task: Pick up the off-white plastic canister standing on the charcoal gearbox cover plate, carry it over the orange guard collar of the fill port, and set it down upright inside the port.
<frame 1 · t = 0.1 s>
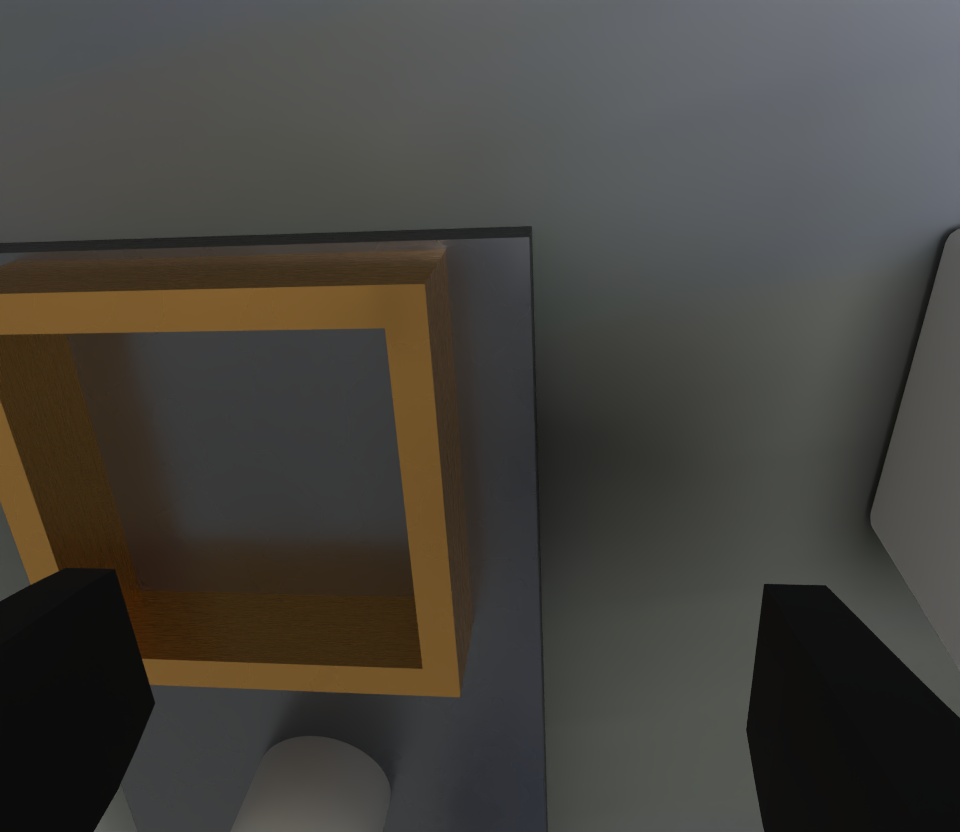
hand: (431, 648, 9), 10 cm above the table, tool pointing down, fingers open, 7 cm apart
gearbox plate: (304, 600, 22), on the table
canister: (324, 785, 23), point 1 cm above the table, touching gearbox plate
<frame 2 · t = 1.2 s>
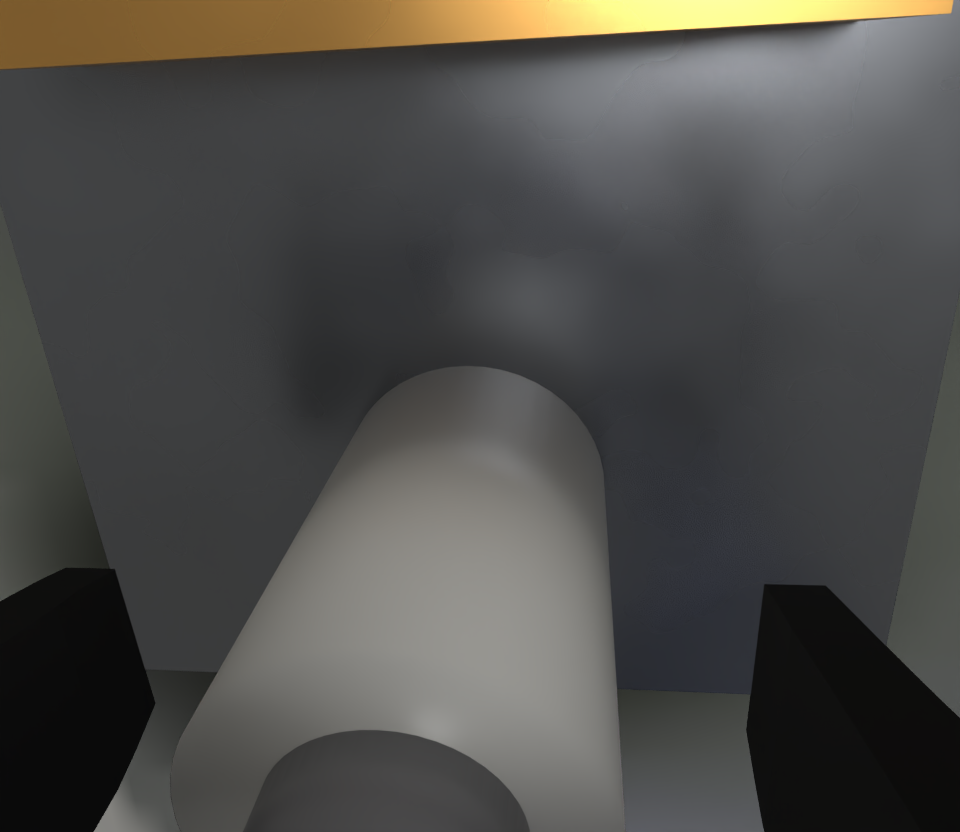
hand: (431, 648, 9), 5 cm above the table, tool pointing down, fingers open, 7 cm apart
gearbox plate: (458, 61, 11), on the table
canister: (474, 486, 12), point 1 cm above the table, touching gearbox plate
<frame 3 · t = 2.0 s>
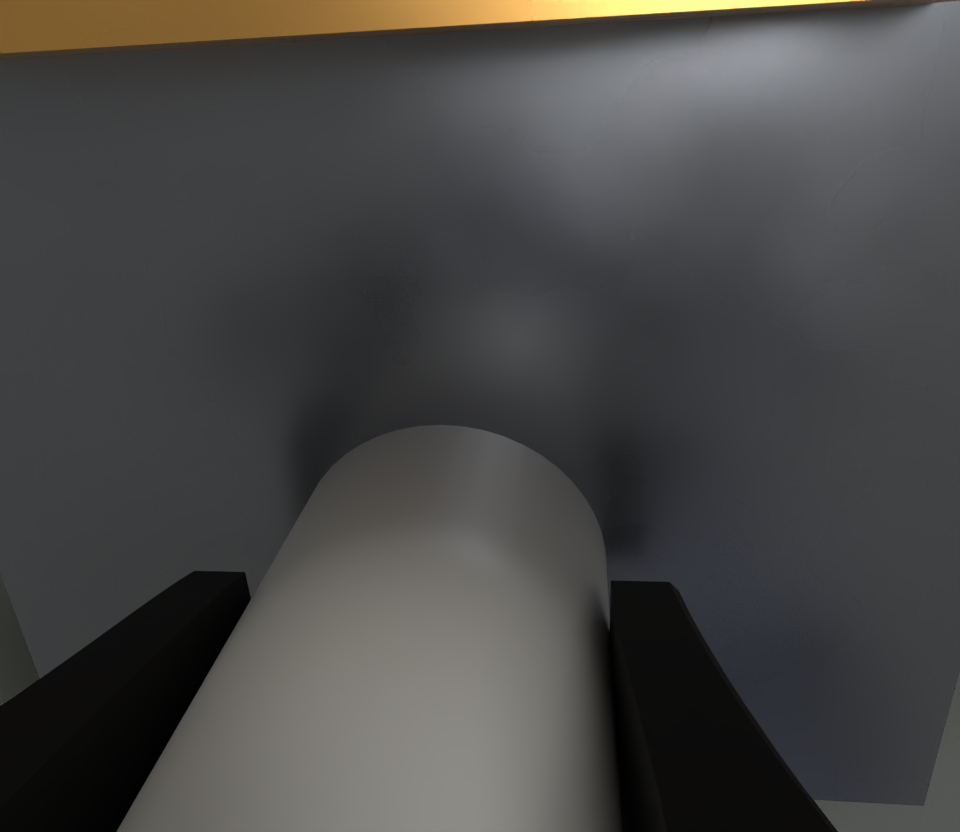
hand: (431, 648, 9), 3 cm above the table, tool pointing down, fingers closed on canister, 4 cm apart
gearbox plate: (426, 55, 9), on the table
canister: (451, 562, 10), point 1 cm above the table, touching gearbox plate, gripper
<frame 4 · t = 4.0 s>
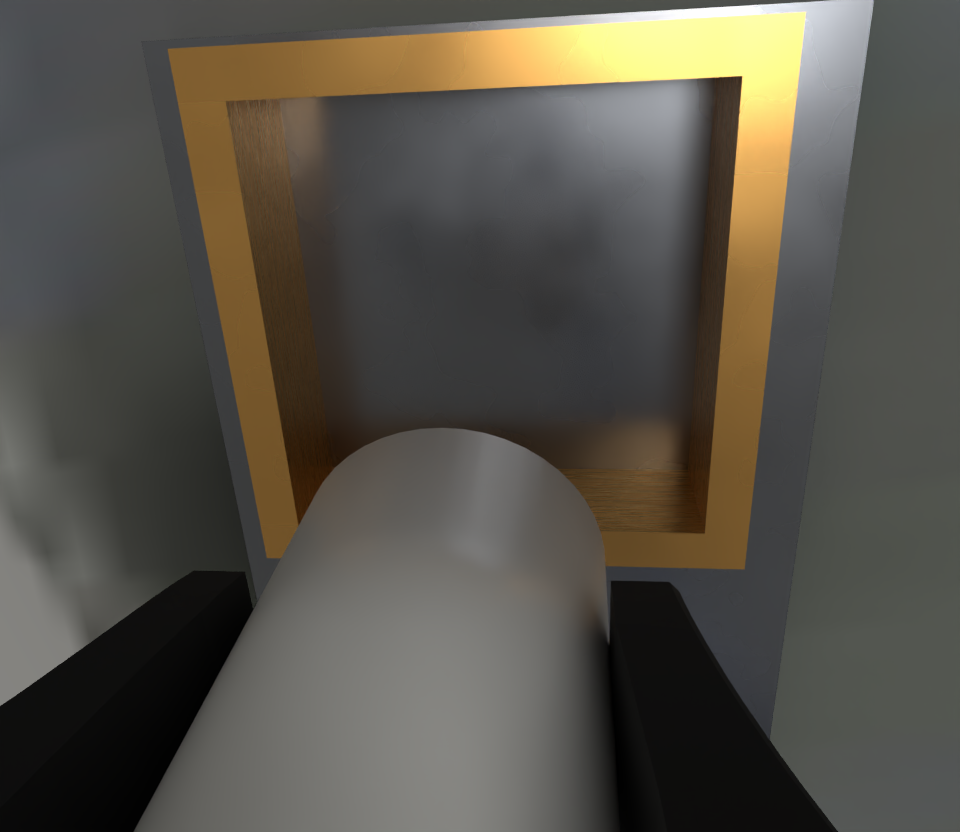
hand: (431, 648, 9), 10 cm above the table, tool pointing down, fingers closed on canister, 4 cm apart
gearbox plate: (510, 484, 19), on the table
canister: (452, 561, 10), point 8 cm above the table, touching gripper
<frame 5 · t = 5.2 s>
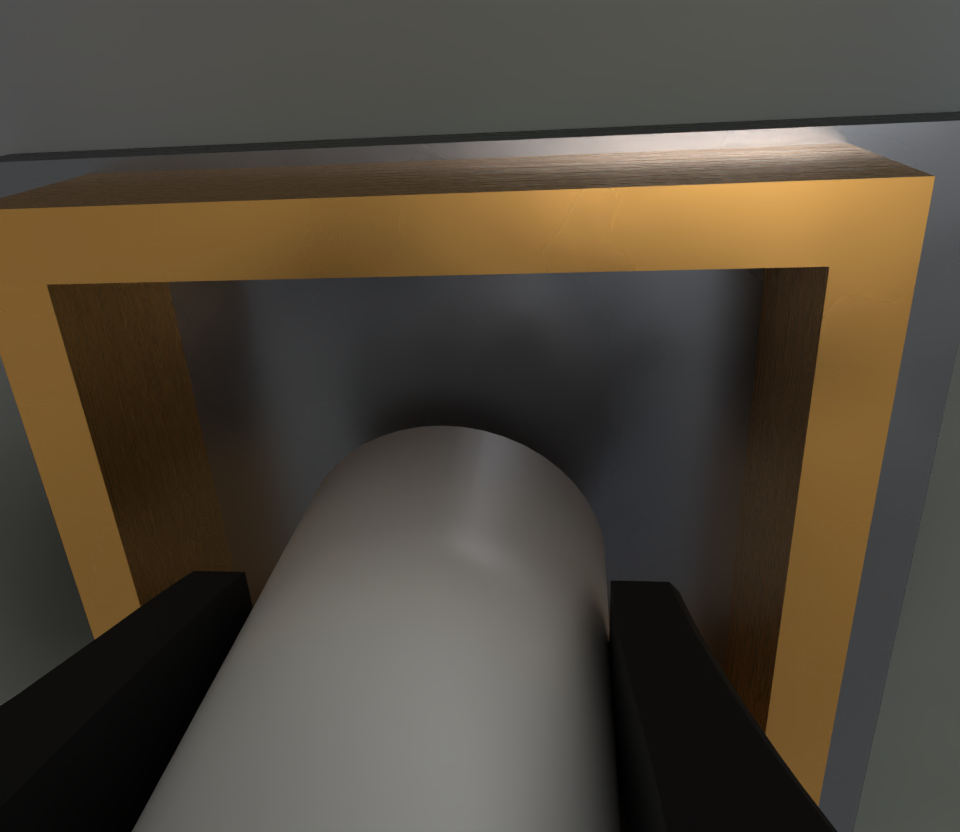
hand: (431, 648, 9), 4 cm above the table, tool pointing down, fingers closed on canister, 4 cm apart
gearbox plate: (489, 693, 15), on the table
canister: (452, 559, 10), point 3 cm above the table, touching gripper
when the fingers open (4 cm above the table, at t = 5.9 s): canister drops 2 cm, resting on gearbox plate.
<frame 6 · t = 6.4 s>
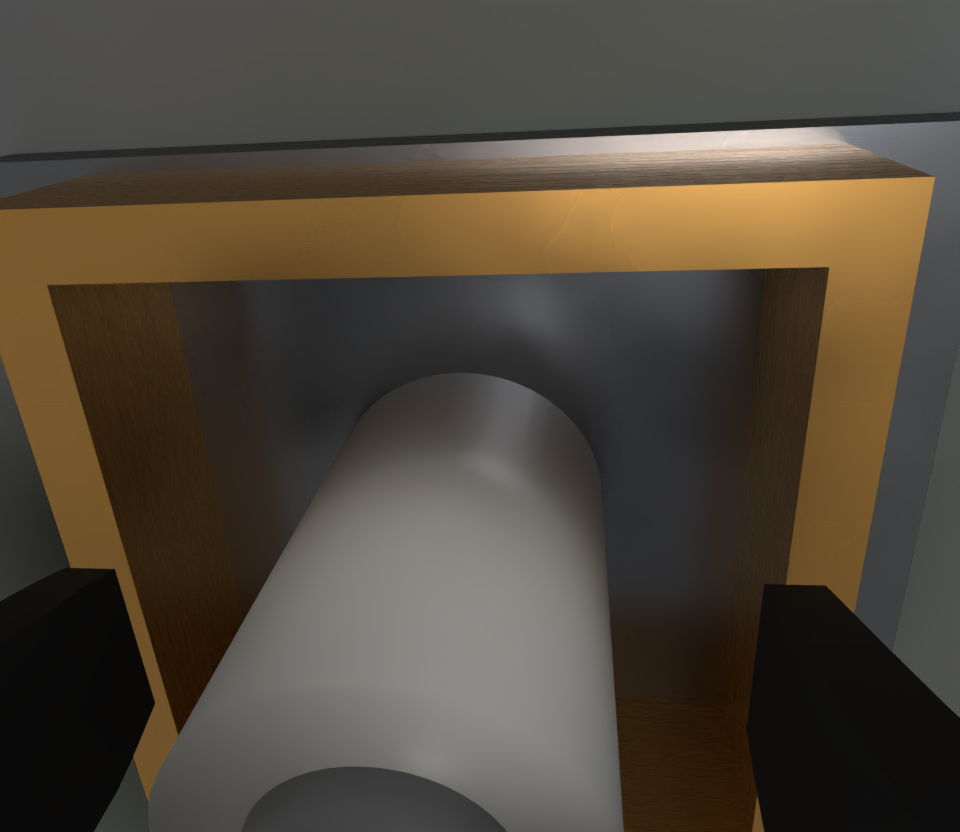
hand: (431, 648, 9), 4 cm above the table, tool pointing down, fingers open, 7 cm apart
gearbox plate: (490, 693, 15), on the table
canister: (468, 495, 12), point 1 cm above the table, touching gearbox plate
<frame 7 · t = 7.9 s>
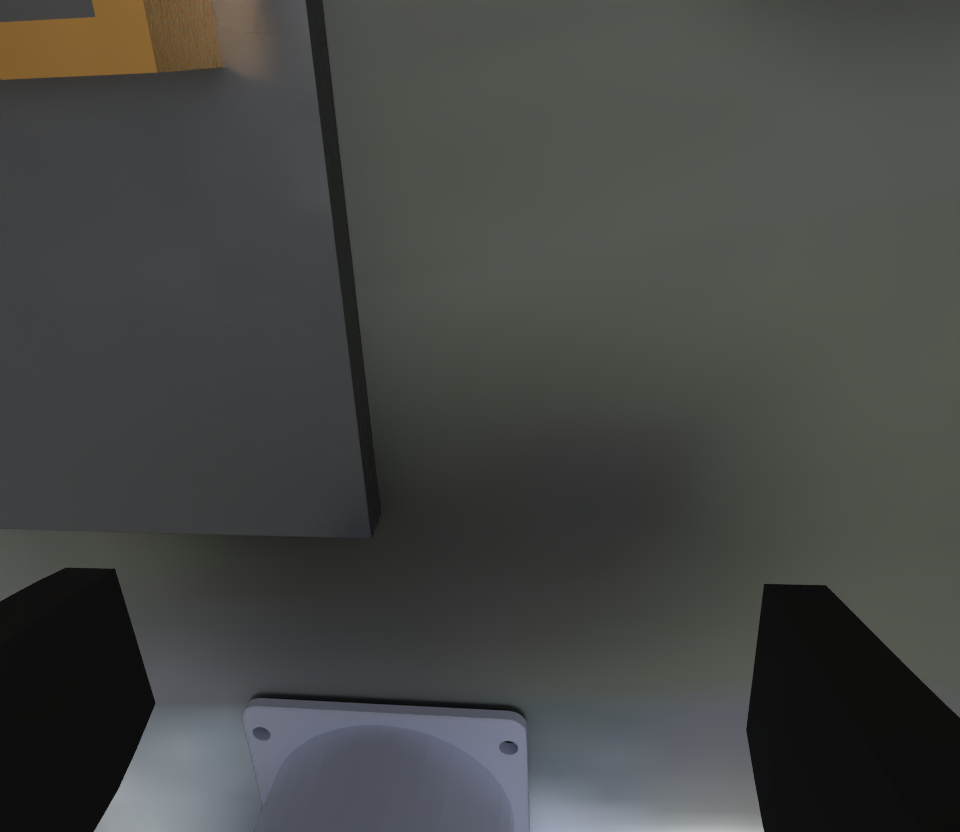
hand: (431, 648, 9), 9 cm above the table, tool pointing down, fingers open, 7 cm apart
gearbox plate: (16, 86, 16), on the table
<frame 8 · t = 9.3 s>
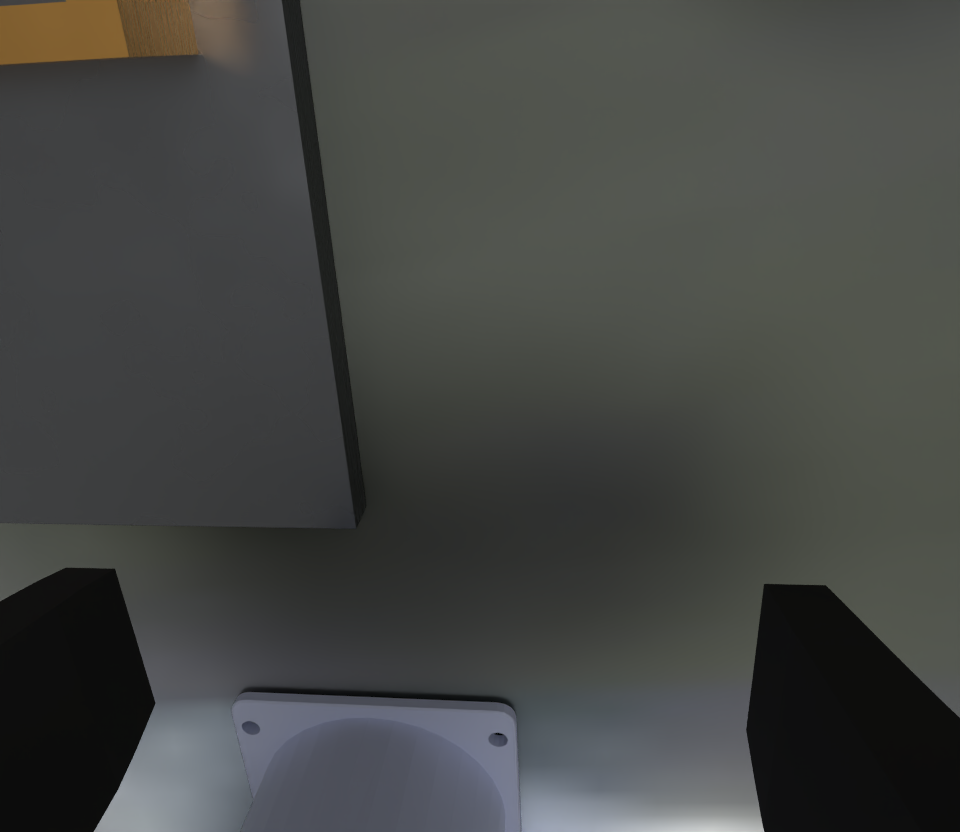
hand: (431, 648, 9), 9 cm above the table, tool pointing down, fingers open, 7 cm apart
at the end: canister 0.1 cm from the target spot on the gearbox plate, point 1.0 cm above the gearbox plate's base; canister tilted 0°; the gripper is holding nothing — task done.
